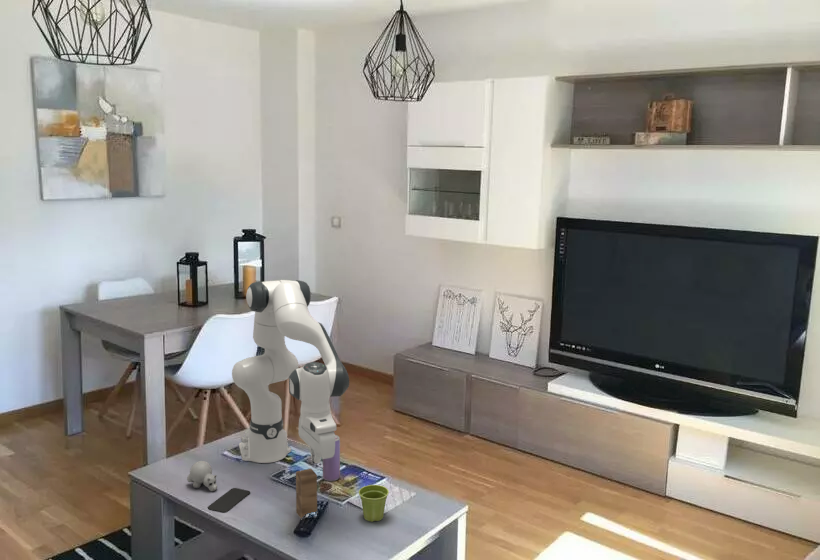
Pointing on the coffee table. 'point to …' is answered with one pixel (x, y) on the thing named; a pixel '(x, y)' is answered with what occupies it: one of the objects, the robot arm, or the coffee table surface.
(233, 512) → the coffee table surface
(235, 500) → the phone
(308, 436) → the robot arm
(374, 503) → the plant pot
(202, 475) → the round bodied animal figurine
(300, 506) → the walnut block
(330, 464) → the beverage can
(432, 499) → the coffee table surface
